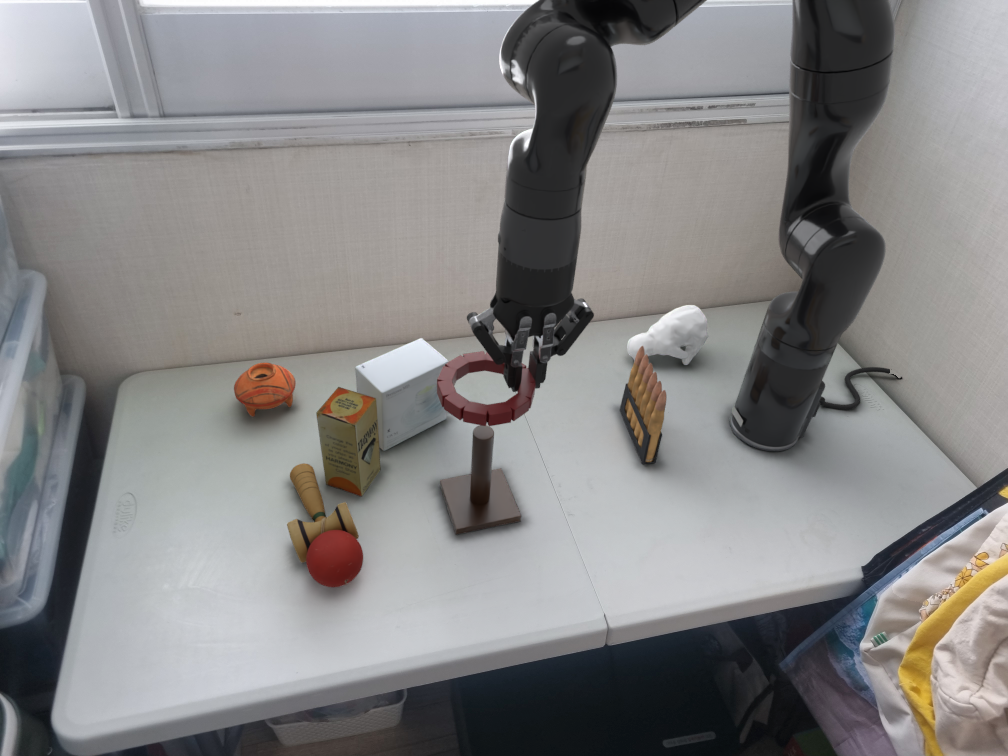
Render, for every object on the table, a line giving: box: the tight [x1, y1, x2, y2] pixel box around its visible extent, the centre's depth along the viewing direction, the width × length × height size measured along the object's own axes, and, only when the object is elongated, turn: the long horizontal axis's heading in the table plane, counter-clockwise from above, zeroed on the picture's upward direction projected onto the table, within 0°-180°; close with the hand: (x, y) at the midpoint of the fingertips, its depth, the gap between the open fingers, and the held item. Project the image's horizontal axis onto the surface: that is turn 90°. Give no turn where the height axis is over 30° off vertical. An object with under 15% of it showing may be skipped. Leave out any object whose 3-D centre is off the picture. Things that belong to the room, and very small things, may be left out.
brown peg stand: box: [439, 424, 522, 536], centre depth 90 cm, size 8×8×12 cm
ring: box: [437, 350, 536, 427], centre depth 81 cm, size 10×10×2 cm
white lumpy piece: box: [626, 304, 709, 366], centre depth 115 cm, size 6×8×12 cm
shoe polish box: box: [316, 386, 382, 498], centre depth 92 cm, size 5×5×12 cm
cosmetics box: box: [354, 337, 450, 452], centre depth 100 cm, size 10×6×10 cm, turn 131°
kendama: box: [286, 463, 364, 588], centre depth 87 cm, size 8×6×18 cm
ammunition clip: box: [619, 346, 667, 465], centre depth 100 cm, size 11×2×12 cm, turn 10°
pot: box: [233, 362, 296, 417], centre depth 103 cm, size 8×8×7 cm
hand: (523, 384), depth 83 cm, fingers closed on ring, 1 cm apart
